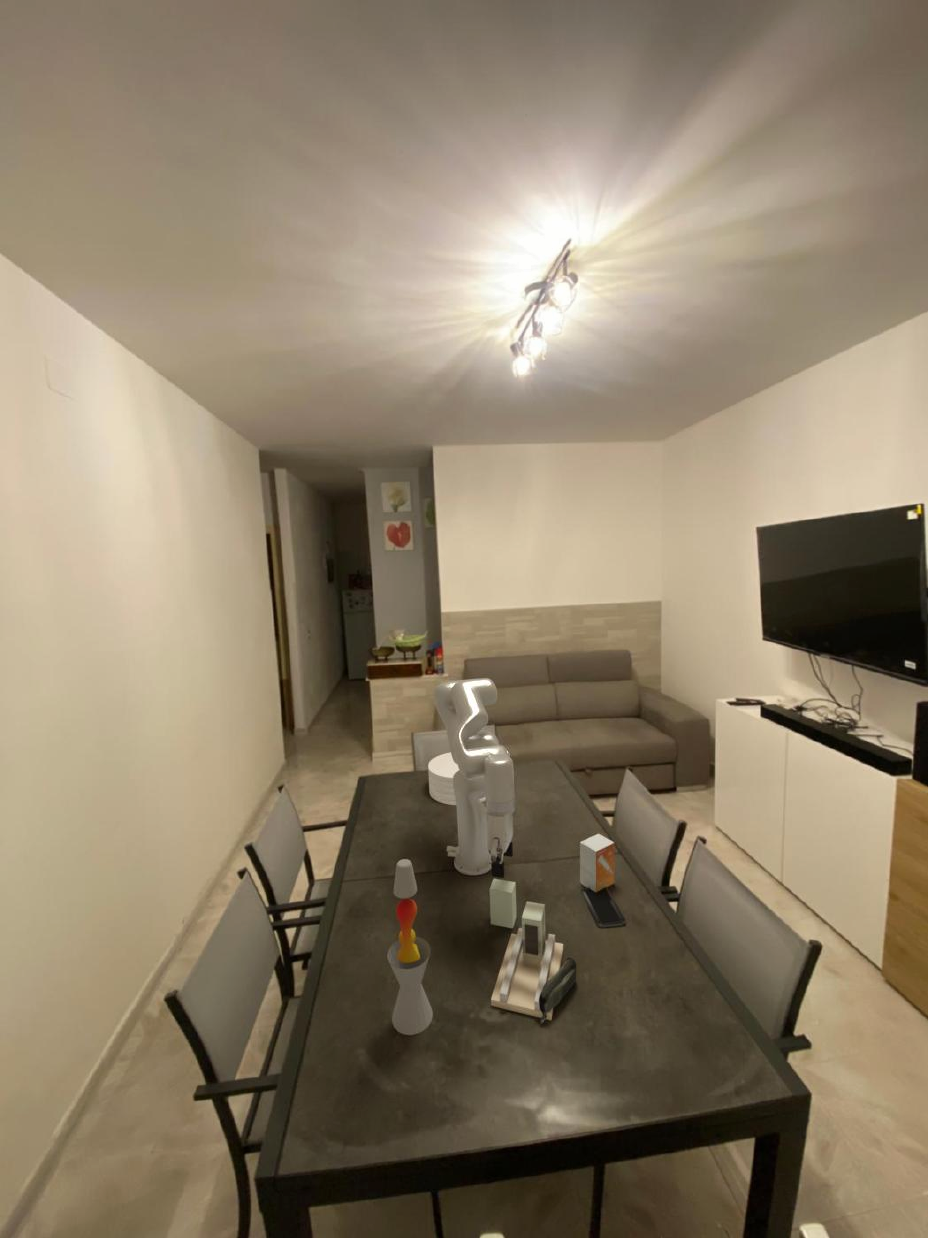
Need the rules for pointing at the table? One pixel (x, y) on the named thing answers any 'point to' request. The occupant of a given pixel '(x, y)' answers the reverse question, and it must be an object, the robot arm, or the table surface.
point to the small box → (597, 862)
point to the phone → (603, 908)
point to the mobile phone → (557, 987)
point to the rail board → (527, 965)
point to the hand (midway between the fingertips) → (502, 865)
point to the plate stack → (443, 779)
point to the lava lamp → (409, 959)
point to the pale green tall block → (502, 903)
